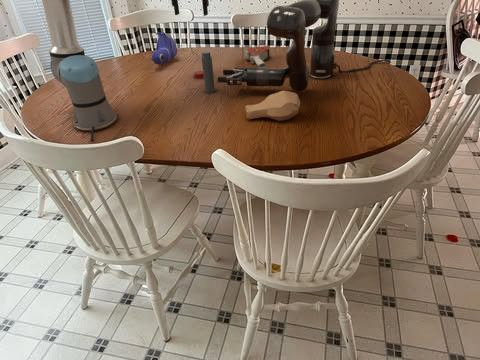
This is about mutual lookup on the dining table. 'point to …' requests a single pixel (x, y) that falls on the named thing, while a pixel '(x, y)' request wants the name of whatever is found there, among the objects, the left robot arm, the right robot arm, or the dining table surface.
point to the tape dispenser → (257, 55)
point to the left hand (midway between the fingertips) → (191, 14)
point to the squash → (275, 106)
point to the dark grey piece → (208, 72)
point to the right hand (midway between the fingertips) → (220, 75)
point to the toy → (164, 49)
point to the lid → (198, 74)
